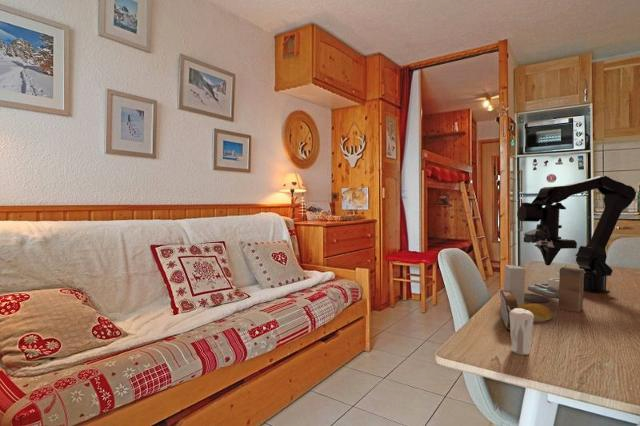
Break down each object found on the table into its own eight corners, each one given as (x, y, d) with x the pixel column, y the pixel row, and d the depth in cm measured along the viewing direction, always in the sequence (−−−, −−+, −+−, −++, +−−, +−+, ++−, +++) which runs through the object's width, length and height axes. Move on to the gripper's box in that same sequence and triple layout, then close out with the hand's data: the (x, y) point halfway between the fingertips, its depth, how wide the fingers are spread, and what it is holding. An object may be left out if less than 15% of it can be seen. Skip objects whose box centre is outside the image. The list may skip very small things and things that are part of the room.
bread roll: (556, 319, 101) (556, 304, 100) (539, 325, 96) (540, 309, 95) (525, 311, 107) (525, 297, 107) (508, 316, 103) (509, 302, 102)
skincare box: (524, 308, 109) (525, 268, 109) (509, 307, 110) (510, 268, 110) (517, 303, 115) (519, 265, 115) (503, 302, 116) (504, 264, 115)
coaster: (534, 295, 125) (534, 293, 125) (555, 302, 116) (555, 300, 116) (510, 295, 124) (510, 294, 124) (529, 303, 115) (529, 301, 115)
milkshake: (500, 348, 80) (501, 302, 79) (523, 347, 80) (525, 302, 80) (512, 357, 75) (514, 308, 75) (537, 356, 76) (539, 308, 75)
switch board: (557, 288, 135) (557, 282, 135) (582, 296, 124) (582, 290, 124) (527, 289, 133) (527, 283, 133) (550, 297, 123) (550, 291, 123)
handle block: (562, 305, 113) (564, 266, 113) (582, 308, 110) (584, 269, 109) (558, 308, 110) (559, 268, 109) (578, 312, 106) (580, 271, 106)
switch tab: (557, 288, 130) (558, 276, 130) (567, 290, 126) (567, 279, 126) (547, 288, 129) (548, 277, 129) (556, 291, 125) (556, 279, 125)
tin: (520, 336, 87) (521, 301, 87) (505, 334, 88) (506, 299, 88) (510, 317, 101) (511, 286, 101) (498, 315, 102) (499, 285, 102)
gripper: (511, 220, 139) (510, 261, 140) (549, 223, 121) (547, 270, 121) (538, 220, 141) (536, 260, 141) (579, 223, 122) (577, 270, 123)
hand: (547, 265), depth 132 cm, fingers closed
